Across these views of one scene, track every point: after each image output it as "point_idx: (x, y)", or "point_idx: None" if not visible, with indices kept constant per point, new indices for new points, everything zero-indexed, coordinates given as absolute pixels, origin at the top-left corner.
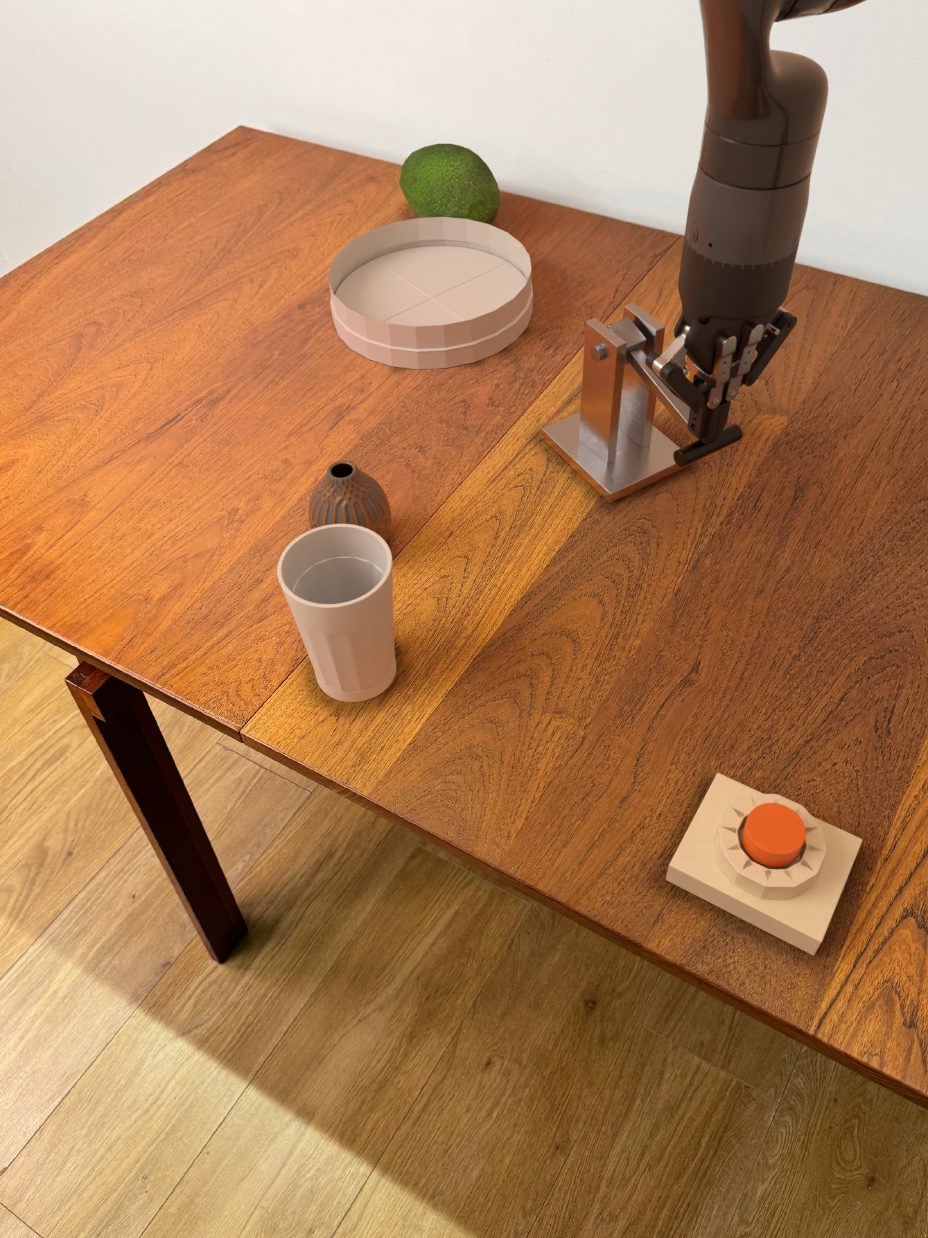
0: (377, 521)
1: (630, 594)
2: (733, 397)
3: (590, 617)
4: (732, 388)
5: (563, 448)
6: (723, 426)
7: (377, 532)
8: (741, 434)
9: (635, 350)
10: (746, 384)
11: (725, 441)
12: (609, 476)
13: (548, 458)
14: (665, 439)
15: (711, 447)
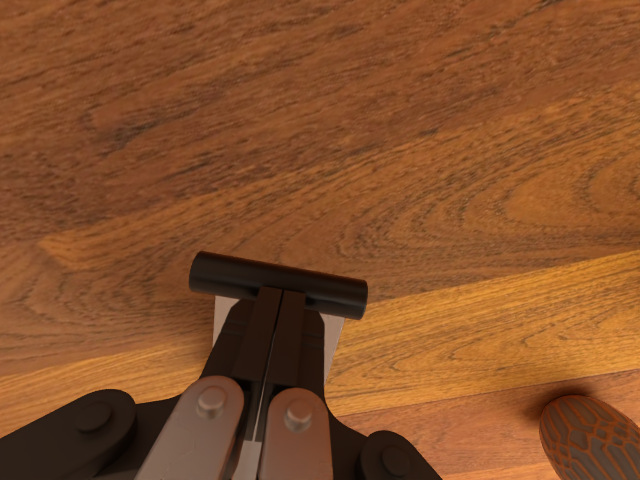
0: (624, 444)
1: (470, 178)
2: (216, 387)
3: (539, 188)
4: (207, 433)
5: (325, 378)
6: (255, 305)
7: (618, 429)
8: (198, 258)
9: None
10: (132, 409)
11: (248, 268)
12: (325, 323)
13: (337, 374)
14: (219, 319)
15: (289, 277)
